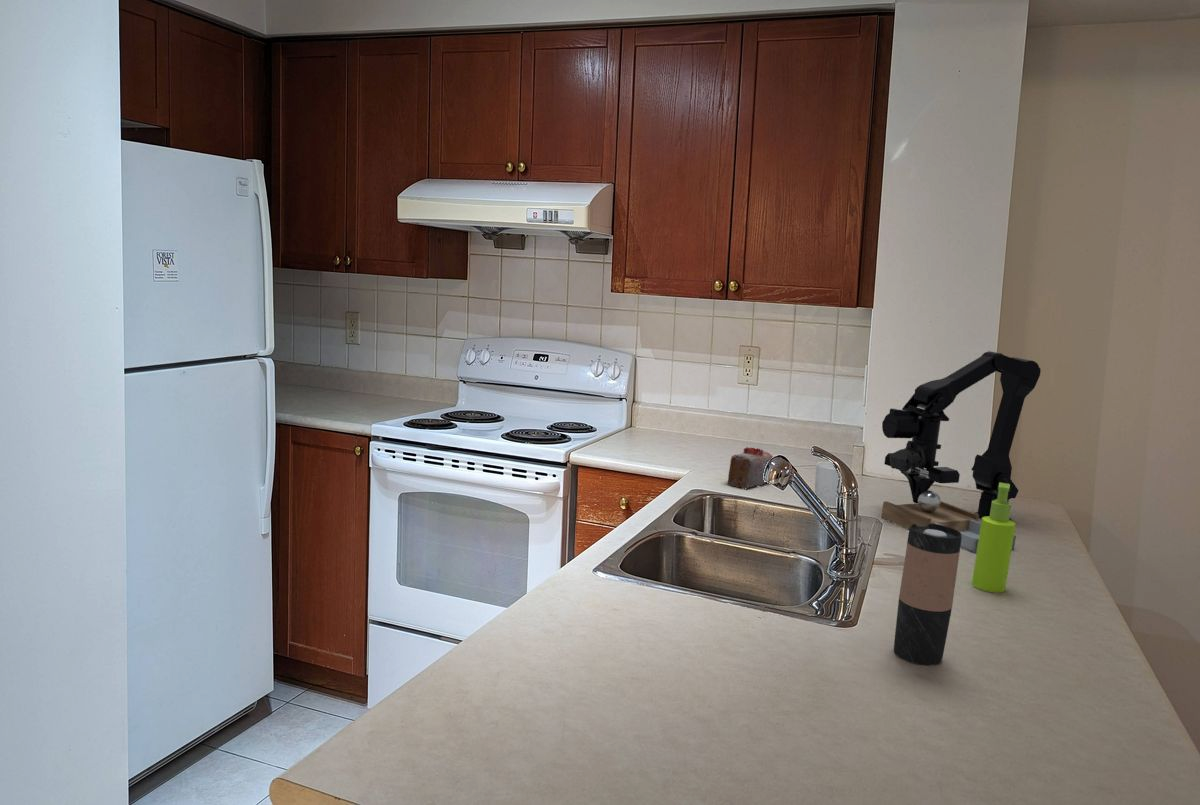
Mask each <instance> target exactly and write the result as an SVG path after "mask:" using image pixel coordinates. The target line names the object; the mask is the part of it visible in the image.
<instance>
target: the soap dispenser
mask: <svg viewBox="0 0 1200 805" xmlns="http://www.w3.org/2000/svg"><path fill="white" fill-rule="evenodd" d="M1009 488H1010V484H1007V483H1001V482H999V487H998V497H997V499H996V500H994V501H992V503H991V510H990V516H986V517H982V518H981V522H980V523H981V527H980V534H979V540H978V547H977V553H975V562H974V568H973V574H972V581H971V585H972V586H973V587H974V588H976V589H978V590H980V591H984V592H989V593H995V594H996V593H1004V592H1005V591H1006V587H1007V586H1006V585H1007V579H1008V574H1009V567H1010V562H1011V561H1010V560H1011V555H1012V550H1013V549H1012V544H1013V537H1014V535H1015V530H1016V522H1015V521H1012V519H1011V520H1009V518H1010V516H1011V515H1010V514H1011V509H1012V504H1011V503H1010V502H1008V501H1007V497H1008V491H1009Z"/></svg>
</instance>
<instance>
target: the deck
mask: <svg viewBox="0 0 1200 805" xmlns="http://www.w3.org/2000/svg"><path fill="white" fill-rule="evenodd" d="M881 519H883V520H886V521H888V522H891V523H893V524H895V525H897V526H900V527H902V528H905V529H907V530H909V528H910V525H911V524H914V523H915V524H916V525H917V526H927V525H928V524H934V523H939V524H941V525H944V526H947V527H950V528H953V529H955V530H957V531H959V532H961V531H968V530H969V523H970V520H974V521H977V522H979V519H980V517H979V515H978V514H975V513H974V512H973V511H969V510H966V509H963V508H961V507H959V506H956V505H953V504H950V503H947V502H944V501H942V500H941V503H940V506H939V508H938V509H937V510H935V511H933V512H926V511H924V510H922V509H921V508H920V506H919V504H918V503H905V504H901V503H900V504H894V503H892V502H889V501H883V503H882V510H881Z"/></svg>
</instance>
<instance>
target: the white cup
mask: <svg viewBox="0 0 1200 805" xmlns="http://www.w3.org/2000/svg"><path fill="white" fill-rule="evenodd" d="M831 462H832V461H819V462H816V465H815V466H816V467H815V468H816V469H815V470H816V471H815V478H814V480H815V482H814V494H815V493H816V495H817V496H818V497H819V498H820V499H821V500H822V501H823V502H824V503H825V504H826V505H827V506H828V505H830V506H831V505H832V506H835V507H836V498H837V492H836V491H837V483H838V473H837V471H836V469H835V468H834V466H833V464H832V463H831ZM847 466H848V467H849V468H850V466H849V465H847Z"/></svg>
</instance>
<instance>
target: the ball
mask: <svg viewBox="0 0 1200 805" xmlns="http://www.w3.org/2000/svg"><path fill="white" fill-rule="evenodd" d="M941 501H942V500H941V497H940V495H939V494H938V493H937V492H935V491H934V490H930V489H928V491H924V492H922V493H921V494H920V495H919V497H918V504H919V506H920V508H921V509H922V510H924V511H926V512H933V511H935V510H937V509H938V508H939V506H940V503H941Z"/></svg>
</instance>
